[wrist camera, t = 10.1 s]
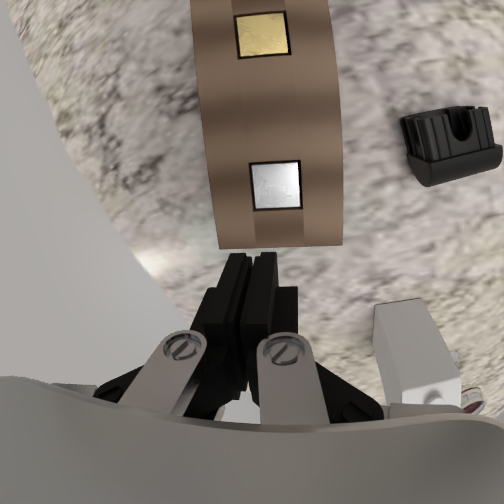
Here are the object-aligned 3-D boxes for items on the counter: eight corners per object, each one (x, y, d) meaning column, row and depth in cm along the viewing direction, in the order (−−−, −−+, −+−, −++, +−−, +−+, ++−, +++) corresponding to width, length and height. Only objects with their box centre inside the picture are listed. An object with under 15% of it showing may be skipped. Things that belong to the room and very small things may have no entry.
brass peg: (245, 33, 24) (236, 17, 19) (284, 29, 23) (283, 13, 19) (249, 66, 26) (240, 56, 21) (288, 63, 25) (287, 52, 20)
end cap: (409, 178, 29) (435, 195, 23) (394, 118, 27) (419, 121, 21) (475, 161, 27) (506, 174, 21) (463, 104, 24) (496, 107, 18)
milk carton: (414, 334, 39) (451, 438, 22) (371, 341, 40) (395, 453, 23) (421, 297, 36) (473, 405, 19) (374, 304, 37) (410, 423, 20)
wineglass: (455, 370, 42) (475, 419, 31) (426, 376, 43) (443, 428, 32) (468, 345, 39) (493, 395, 28) (437, 350, 40) (460, 405, 29)
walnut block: (206, 10, 23) (189, -9, 18) (317, -1, 22) (322, -22, 16) (230, 227, 35) (219, 249, 29) (334, 223, 33) (342, 245, 27)
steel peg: (258, 156, 30) (251, 165, 25) (296, 154, 30) (297, 163, 25) (261, 192, 32) (255, 208, 27) (298, 191, 31) (299, 206, 26)
